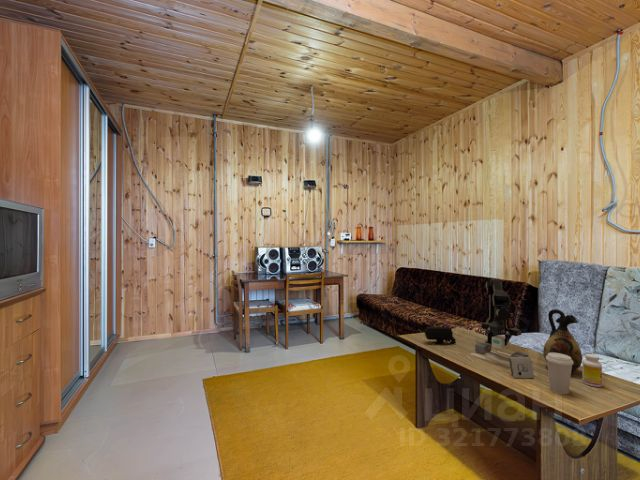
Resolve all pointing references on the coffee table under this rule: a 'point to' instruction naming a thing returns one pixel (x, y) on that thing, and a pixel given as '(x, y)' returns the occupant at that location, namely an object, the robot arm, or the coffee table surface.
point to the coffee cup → (559, 372)
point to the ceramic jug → (563, 339)
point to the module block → (499, 342)
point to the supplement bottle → (592, 371)
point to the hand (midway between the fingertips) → (500, 344)
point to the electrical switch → (521, 367)
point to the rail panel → (494, 354)
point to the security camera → (440, 334)
